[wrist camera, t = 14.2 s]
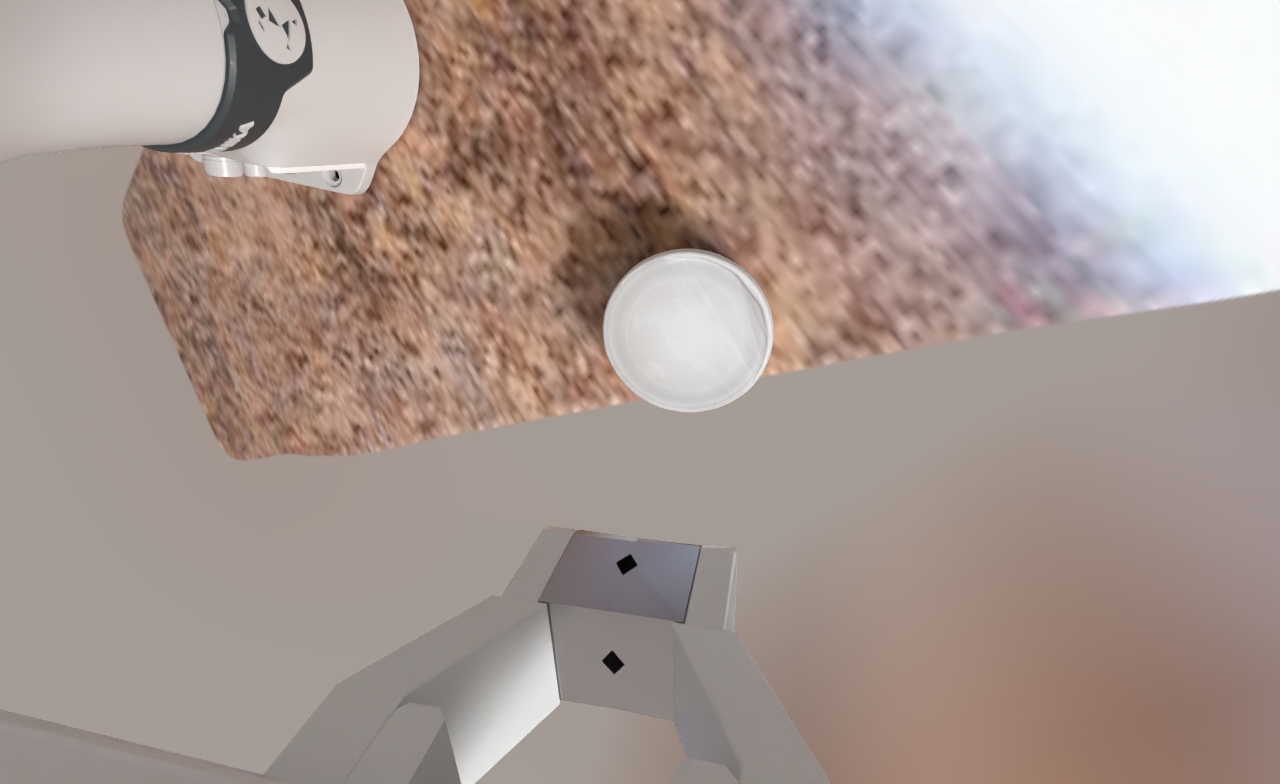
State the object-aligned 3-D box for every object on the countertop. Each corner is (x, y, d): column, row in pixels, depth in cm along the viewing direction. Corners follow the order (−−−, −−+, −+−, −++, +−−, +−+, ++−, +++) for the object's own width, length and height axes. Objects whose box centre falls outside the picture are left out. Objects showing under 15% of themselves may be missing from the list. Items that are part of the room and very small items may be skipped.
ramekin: (802, 273, 40) (804, 294, 36) (735, 406, 45) (729, 439, 41) (652, 210, 41) (634, 222, 36) (602, 348, 46) (581, 374, 41)
